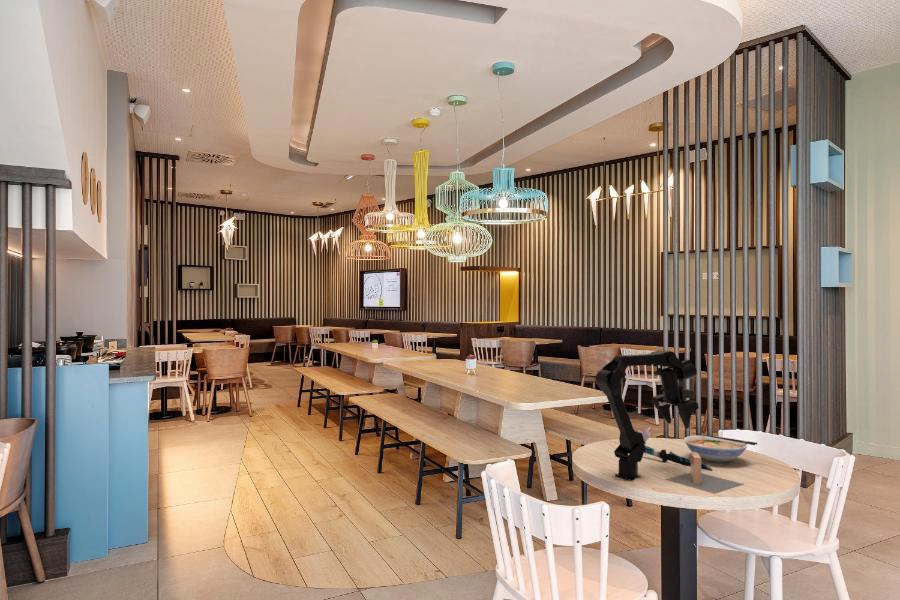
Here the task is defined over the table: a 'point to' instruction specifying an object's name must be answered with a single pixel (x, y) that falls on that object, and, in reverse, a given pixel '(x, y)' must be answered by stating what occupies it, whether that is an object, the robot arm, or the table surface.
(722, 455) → the ramen bowl
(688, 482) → the mat
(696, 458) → the tile
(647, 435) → the water lily
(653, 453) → the knife
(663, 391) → the robot arm
